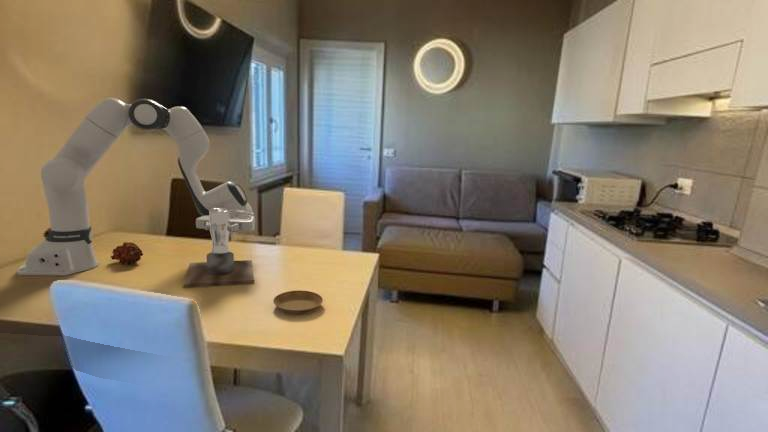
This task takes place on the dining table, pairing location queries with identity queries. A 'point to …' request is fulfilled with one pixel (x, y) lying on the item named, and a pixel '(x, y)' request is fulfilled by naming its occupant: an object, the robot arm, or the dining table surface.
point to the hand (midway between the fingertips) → (218, 228)
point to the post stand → (219, 271)
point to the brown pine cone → (127, 253)
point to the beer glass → (219, 229)
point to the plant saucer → (298, 302)
